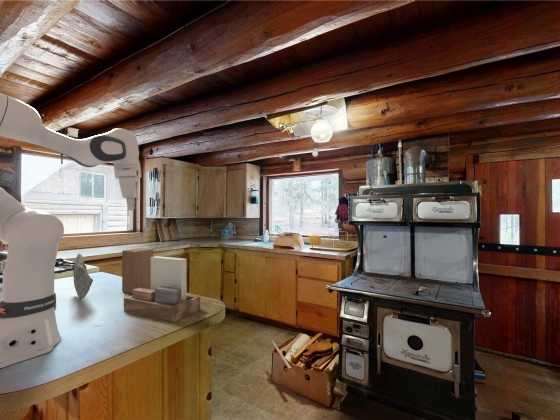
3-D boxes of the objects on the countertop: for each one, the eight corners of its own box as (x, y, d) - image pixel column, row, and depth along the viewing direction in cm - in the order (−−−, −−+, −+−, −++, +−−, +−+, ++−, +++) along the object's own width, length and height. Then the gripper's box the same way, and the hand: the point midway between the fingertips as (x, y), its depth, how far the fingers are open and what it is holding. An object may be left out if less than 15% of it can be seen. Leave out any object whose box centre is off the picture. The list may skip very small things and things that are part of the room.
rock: (94, 305, 114) (94, 257, 114) (75, 309, 110) (75, 258, 110) (84, 291, 134) (84, 250, 134) (68, 294, 130) (68, 251, 130)
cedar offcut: (150, 313, 105) (150, 292, 105) (132, 310, 109) (132, 289, 109) (157, 311, 108) (157, 290, 108) (139, 307, 112) (139, 287, 112)
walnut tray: (174, 321, 98) (174, 307, 98) (123, 311, 108) (123, 298, 108) (200, 309, 110) (200, 296, 110) (152, 300, 121) (152, 289, 121)
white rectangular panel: (180, 312, 107) (180, 260, 107) (150, 306, 114) (150, 257, 114) (186, 309, 110) (186, 258, 110) (156, 304, 116) (156, 256, 116)
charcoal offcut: (175, 318, 100) (175, 291, 101) (154, 314, 105) (154, 288, 105) (181, 315, 103) (181, 288, 103) (161, 312, 107) (161, 286, 107)
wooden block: (121, 292, 134) (121, 250, 134) (140, 286, 143) (140, 247, 143) (135, 294, 129) (135, 251, 129) (153, 289, 138) (153, 249, 138)
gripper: (121, 175, 113) (124, 209, 114) (115, 171, 95) (119, 211, 96) (138, 175, 116) (141, 208, 117) (136, 170, 97) (140, 210, 99)
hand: (131, 209), depth 106 cm, fingers open, 8 cm apart
